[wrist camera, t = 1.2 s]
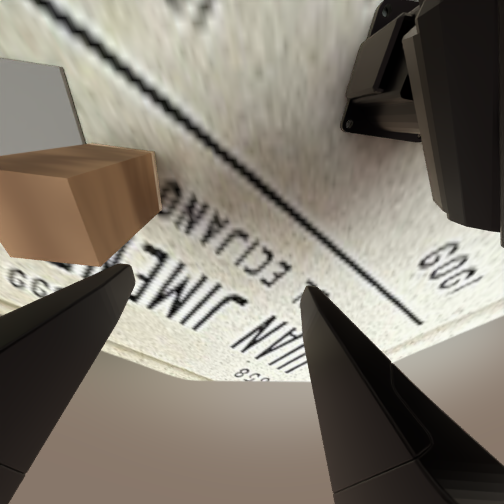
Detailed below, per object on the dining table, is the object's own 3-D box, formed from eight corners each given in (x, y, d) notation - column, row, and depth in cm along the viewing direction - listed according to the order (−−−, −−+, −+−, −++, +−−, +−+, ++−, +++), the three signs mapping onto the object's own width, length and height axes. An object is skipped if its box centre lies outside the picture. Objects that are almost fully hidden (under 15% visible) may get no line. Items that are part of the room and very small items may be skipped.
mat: (62, 67, 14) (58, 66, 13) (115, 242, 21) (113, 244, 21) (-129, 38, 13) (-136, 37, 13) (-3, 229, 21) (-6, 230, 20)
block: (154, 151, 16) (66, 178, 9) (162, 209, 19) (100, 266, 12) (91, 143, 16) (-54, 163, 9) (108, 202, 19) (10, 256, 11)
